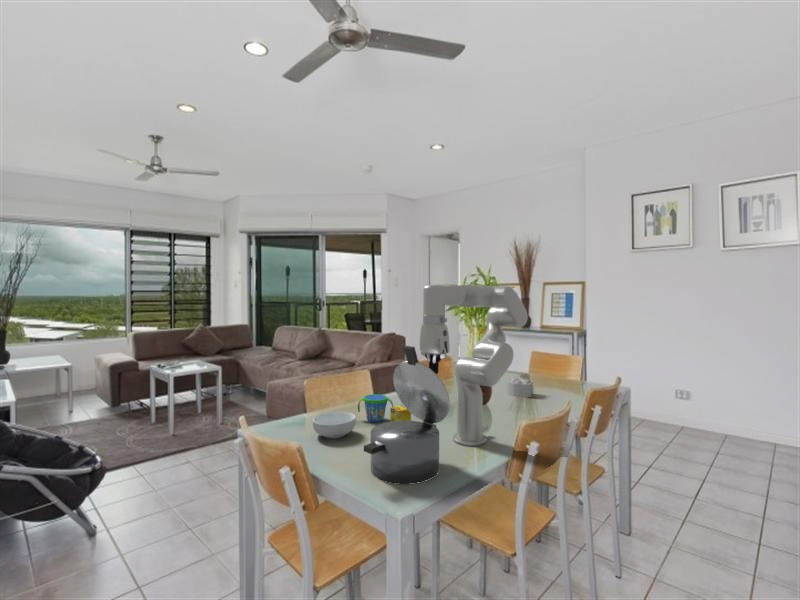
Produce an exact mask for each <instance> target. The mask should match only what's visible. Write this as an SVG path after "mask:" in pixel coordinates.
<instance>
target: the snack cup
mask: <svg viewBox="0 0 800 600" xmlns="http://www.w3.org/2000/svg"><path fill="white" fill-rule="evenodd" d="M361 401H363V402H364V408H365V415H366V420H367V421H369V423H371V422H372V423H375V422H376V423H377V422H378V423H380V422H382V421H384V420H385V415H386V407H387V405H388V401H389V403H390V404H391V407H394V403H393V401H392V399H391V398H389V397H388V396H387V395H386V394H379V393H378V394H377V393H376V394H367V395H364V396H363V397H362V398H361V399H359V401H358V403H357V412H358V413H360V412H361V409H360V408H361V406H360V403H361Z"/></svg>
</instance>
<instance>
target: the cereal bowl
mask: <svg viewBox="0 0 800 600" xmlns="http://www.w3.org/2000/svg"><path fill="white" fill-rule="evenodd" d="M356 421H357V417H356V415H355V414H354V413H351V412H346V411H329V412H325V413H321V414H318V415H316V416H314V417H313V418H312V428H313V429H314V431H315V433H316V434H318V435H319V436H321V437H325V438H326V439H332V440H333V439H340V438H344V436H345V435H347V434H349V433H351V432H352V431H353V430H354V428H355V426H356Z"/></svg>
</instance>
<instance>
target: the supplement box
mask: <svg viewBox="0 0 800 600" xmlns="http://www.w3.org/2000/svg"><path fill="white" fill-rule="evenodd" d="M389 415H390V421H389V422H391V421H412V413H411V412H410V411H409V410H408V409H407V408H406V407H405V406H404V405H403V404H399V405H395V406H393V407H392V406H391V407H390V414H389Z"/></svg>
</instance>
